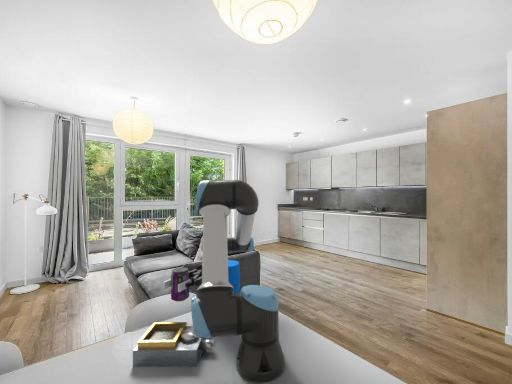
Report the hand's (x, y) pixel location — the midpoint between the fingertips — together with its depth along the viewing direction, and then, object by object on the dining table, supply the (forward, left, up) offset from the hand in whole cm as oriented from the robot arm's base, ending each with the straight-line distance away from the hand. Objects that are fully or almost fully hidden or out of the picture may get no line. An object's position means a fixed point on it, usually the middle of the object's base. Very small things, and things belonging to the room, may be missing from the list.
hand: (171, 286), depth 94 cm
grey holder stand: (-12, +6, -18) cm, 22 cm away
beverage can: (+1, -5, -7) cm, 8 cm away
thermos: (-13, -17, -18) cm, 28 cm away
